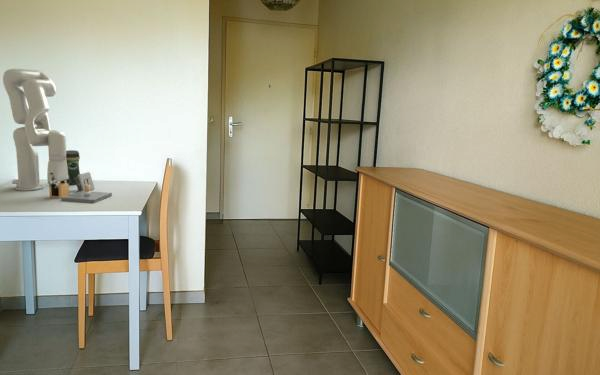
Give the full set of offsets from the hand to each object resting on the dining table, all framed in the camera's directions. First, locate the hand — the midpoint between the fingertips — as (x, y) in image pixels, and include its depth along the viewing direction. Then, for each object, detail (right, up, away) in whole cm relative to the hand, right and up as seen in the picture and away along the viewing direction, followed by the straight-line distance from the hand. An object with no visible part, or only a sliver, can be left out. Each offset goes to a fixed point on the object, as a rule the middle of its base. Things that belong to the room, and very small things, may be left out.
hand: (59, 194), depth 227 cm
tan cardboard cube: (0, -1, 0) cm, 1 cm away
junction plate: (+14, -2, -1) cm, 14 cm away
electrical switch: (+5, +2, +17) cm, 17 cm away
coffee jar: (-10, +5, +32) cm, 34 cm away
